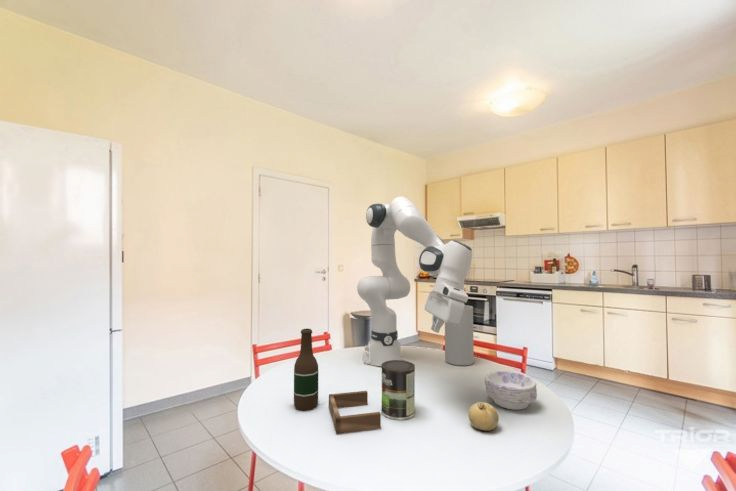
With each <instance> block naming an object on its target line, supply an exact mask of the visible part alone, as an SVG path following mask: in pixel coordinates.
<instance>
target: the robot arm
mask: <svg viewBox="0 0 736 491" xmlns="http://www.w3.org/2000/svg"><path fill="white" fill-rule="evenodd" d="M365 214H366V215H365V219H366V223H367V224H368V225H369V227H371V228H372V230H371V241H370V244H371V247H370V250H371V263H372V264H373V266H375V267H376V268H379V269H380V271H381V273H382V275H370V276H366V277H362V278H360V280H359V281H358V283H357V286H356V288H357V290H356V291H357V294H358V296H359V298H360V299H362V300H363V301H364V302H365V303H366V304H367V306H368V308H369V309H370V313H371V314H370V315H371V321H372V322H371V328H372V329H371V330H370V339H369V341H368V343H367V345H364V351H365V352H363V354H362V357H363V358H362V359H363V363H364V364H366V365H371V366H374V367H375V366H376V367H381V364H382V363H384V362H386V361H391V360H402V361H405V358H404V357H402V348H401V346H402V345H401V342H400V341H399V340H398V337H399V336H398V335H399V334H398V329H397V313H396V312H395V310H394V309H392V308H390V307H388V305H387V303H386V301H387V300H388V301H389V300H399V299H403V298H406V297H407V296H408V295H409V294H410V292H411V284H410V281H409V279H408V278H407V277H406V276H404V274H403V273H402V272H401V271H400V268H399V267H398V263H397V258H396V256H397V255H396V241H395V233H396V232H397V230H398V232H400V233H401V234H402V235H403V236H404V237H406V238H408V239H411V240H412V241H414V242H416V243H419V244H420V245H422V246H423V247H425V248H424V249H423V250H422V251H421V253H420V255H419V259H418V264H419V267H420V270H422V271H424V273H426V274H429V275H432V276H434V277H436V280H435V283H434V285H433V289H432V290H431V291H430V293H429V294H428V296H427V298H426V300H425V301H426V302H425V304H424V311H426V312H428V313H429V314H431V315H432V318H431V326H430V329H431V331H433V332H434V333H436V334H438V333H440V331H441V329H442V327H443V325H445V322H446V323H448V324H451V325H455V326H456V325H457V324H458V323H459V322H460V319H461V316H462V313H463V310H464V306H465V305H466V304H465V303H467V302H468V300H469V295H468V294H467V293H466V291H465V290H464V288H465V279H466V277H467V276H468V273H469V271H470V267H471V264H472V261H473V260H472V259H473V249H472V248H471V247H470V246H469V245H467V244H464V243H462V242H460V241H458V240H449V242H447V243H445V242H444V241H443V240H442V238H441V237H440V236H439V235H438V234H437V233H436V231H435V230H434V229H433V228H432V226H431V225H430V224H429V223H428V221H427V220H426V218H425V217H424V215H423V214H422V213H421V211H420V209H419V208H418V207H417V205H416V204H414V203H413V202H412V201H411V200H410V199H409V198H407V197H406V196H397V197H395V198H393V199H392V200H391V202H390V203H373V204H371V205H369V206H368V208H367V209H366V213H365Z"/></svg>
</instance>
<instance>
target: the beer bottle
mask: <svg viewBox="0 0 736 491" xmlns="http://www.w3.org/2000/svg"><path fill="white" fill-rule="evenodd" d="M300 334H301V335H300V338H301V339H300V349H299V355H298V356H297V358H296V360H295V362H294V366H293V367H294V368H293V405H294V408H295V410H297V411H302V412H306V411H311V410H315V408H317V407H318V406H319V363H318V361H317V359H316V357H315V356H314V351H313V338H312V337H313V336H312V334H313V329H311V328H302V329H300Z"/></svg>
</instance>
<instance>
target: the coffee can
mask: <svg viewBox="0 0 736 491" xmlns="http://www.w3.org/2000/svg"><path fill="white" fill-rule="evenodd" d="M380 367H381V368H380V369H381V410H380V413H381V415H383V416H384V417H385V418H388V419H389V420H390V419H391V420H397V421H404V420H409V419H411V418H413V417H414V416H415V414H416V411H415V410H416V406H415V405H416V404H415V402H416V401H415V400H416V399H415V397H416V396H415V395H416V394H415V393H416V392H415V389H416V388H415V387H416V385H415V382H416V380H415V379H416V378H415V376H416V375H415V371H416V370H415V369H416V365H415V364H414V363H413V362H410V361H406V360H404V361H402V360H391V361H386V362H384V363H382V364H381V366H380Z"/></svg>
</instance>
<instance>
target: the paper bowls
mask: <svg viewBox="0 0 736 491" xmlns="http://www.w3.org/2000/svg"><path fill="white" fill-rule="evenodd" d="M484 385H485V386H484V387H485V388H484V391H485V394H486V395H487V396H488V397H489V398H491V399H492V400H493V402H494V404H496V405H498V406H499V407H501V408H504V409H508V410H512V411H513V410H514V411H517V410H524V409H526V408H528V407H529V405H530V404H531V403H534V402H536V400H537V398H538V397H537V396H538V395H537V394H538V393H537V383H536V381H535V379H533V378H532V377H530V376H528V375H525V374H521V373H518V372H513V371H505V370H503V371H498V370H497V371H493V372H489V373H487V374H485V377H484Z"/></svg>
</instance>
